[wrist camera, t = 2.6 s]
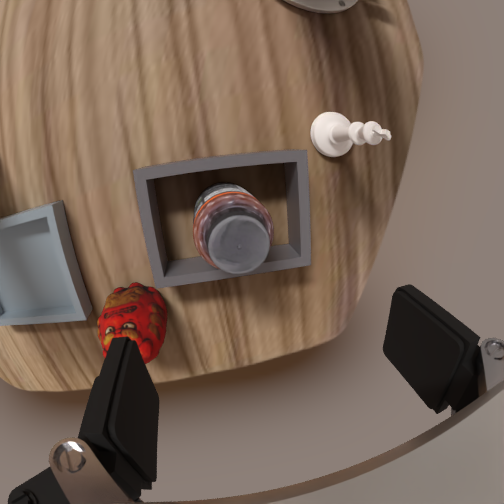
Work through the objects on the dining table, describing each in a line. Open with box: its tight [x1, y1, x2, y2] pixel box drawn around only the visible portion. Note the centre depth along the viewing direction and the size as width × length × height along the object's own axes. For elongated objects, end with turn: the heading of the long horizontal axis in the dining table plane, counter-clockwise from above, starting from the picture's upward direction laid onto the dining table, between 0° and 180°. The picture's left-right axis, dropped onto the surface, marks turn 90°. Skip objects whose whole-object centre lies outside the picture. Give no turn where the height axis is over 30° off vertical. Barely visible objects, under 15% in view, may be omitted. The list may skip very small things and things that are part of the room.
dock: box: [133, 149, 311, 288], centre depth 27 cm, size 15×11×4 cm
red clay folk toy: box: [97, 282, 167, 364], centre depth 24 cm, size 8×7×15 cm
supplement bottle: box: [193, 182, 274, 274], centre depth 23 cm, size 6×6×11 cm
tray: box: [0, 200, 93, 326], centre depth 25 cm, size 16×13×2 cm
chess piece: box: [311, 112, 391, 157], centre depth 23 cm, size 5×5×10 cm
